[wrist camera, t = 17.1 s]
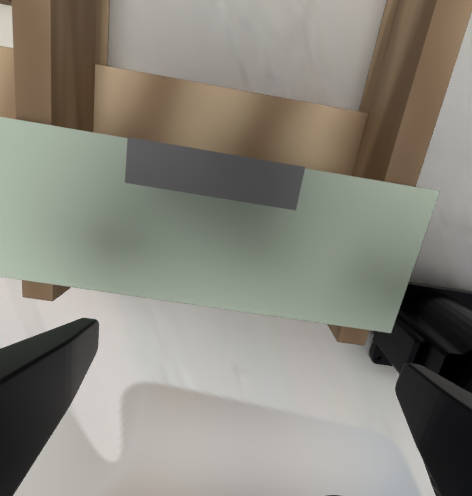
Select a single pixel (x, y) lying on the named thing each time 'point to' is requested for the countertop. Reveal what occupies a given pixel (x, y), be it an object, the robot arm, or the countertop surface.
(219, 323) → the countertop surface
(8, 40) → the cream pad
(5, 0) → the walnut block
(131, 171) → the sliding cover
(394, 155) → the puzzle board
